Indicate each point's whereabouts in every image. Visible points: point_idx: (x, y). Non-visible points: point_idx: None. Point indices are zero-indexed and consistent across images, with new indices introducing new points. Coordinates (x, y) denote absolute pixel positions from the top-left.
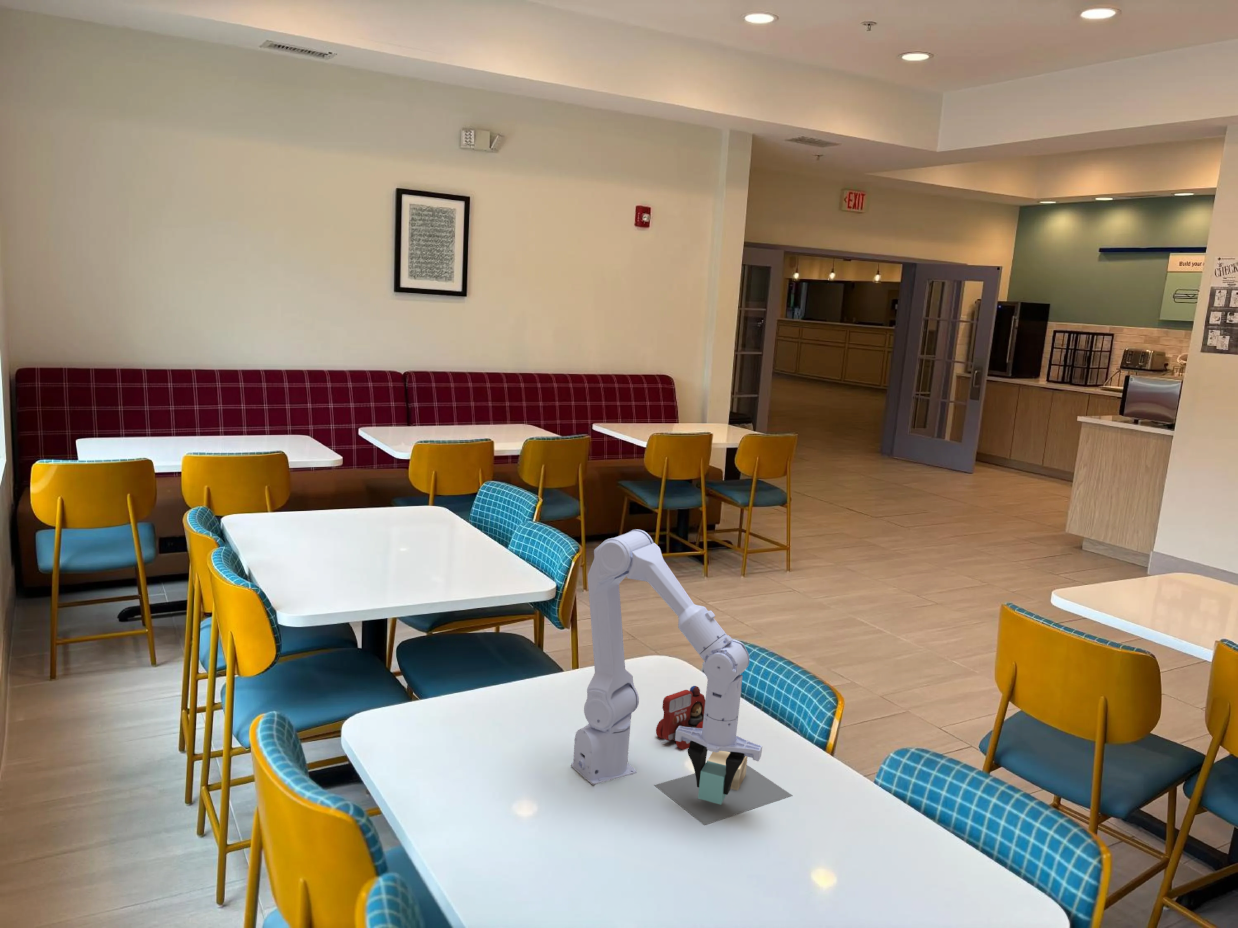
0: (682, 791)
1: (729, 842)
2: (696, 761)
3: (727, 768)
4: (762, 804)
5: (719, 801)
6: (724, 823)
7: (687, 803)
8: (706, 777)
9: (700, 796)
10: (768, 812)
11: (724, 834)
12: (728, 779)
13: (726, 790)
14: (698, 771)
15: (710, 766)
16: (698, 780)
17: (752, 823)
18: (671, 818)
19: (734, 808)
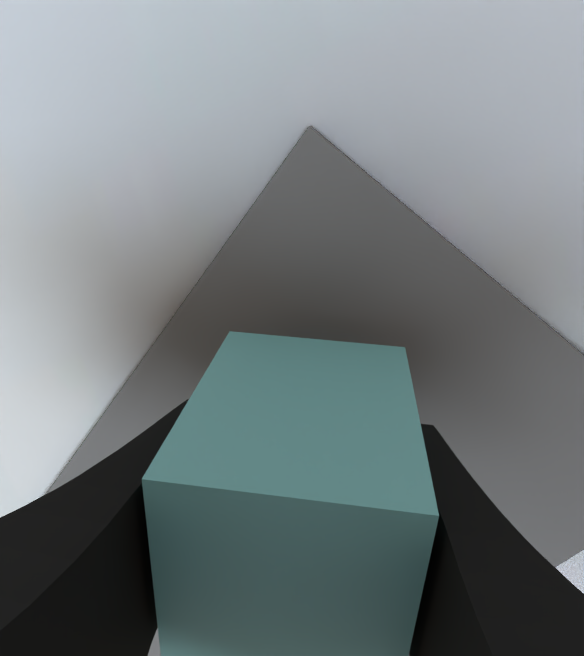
0: (516, 456)
1: (99, 3)
2: (554, 636)
3: (32, 575)
4: (72, 472)
5: (237, 340)
6: (200, 232)
7: (469, 344)
8: (355, 459)
9: (388, 352)
10: (33, 427)
11: (161, 97)
12: (110, 473)
13: (175, 412)
14: (464, 519)
15: (343, 620)
16: (436, 453)
17: (60, 299)
18: (563, 135)
19: (186, 391)
